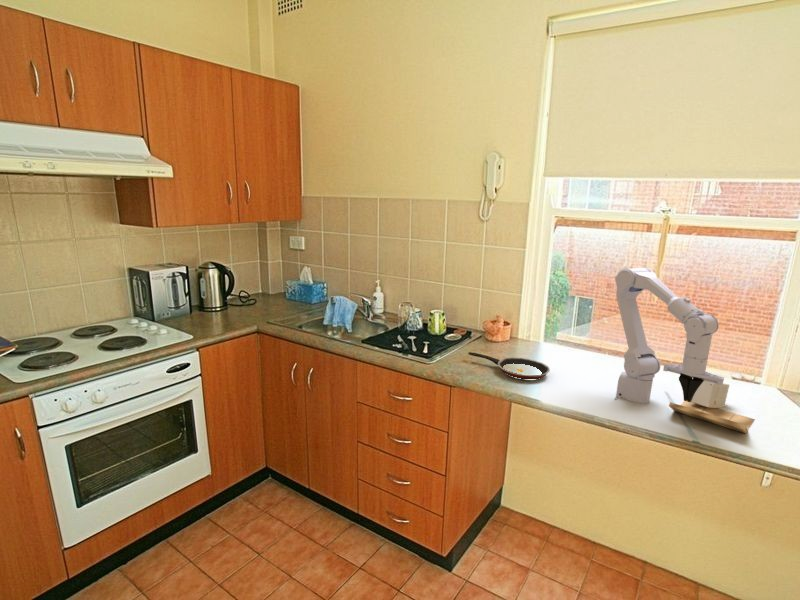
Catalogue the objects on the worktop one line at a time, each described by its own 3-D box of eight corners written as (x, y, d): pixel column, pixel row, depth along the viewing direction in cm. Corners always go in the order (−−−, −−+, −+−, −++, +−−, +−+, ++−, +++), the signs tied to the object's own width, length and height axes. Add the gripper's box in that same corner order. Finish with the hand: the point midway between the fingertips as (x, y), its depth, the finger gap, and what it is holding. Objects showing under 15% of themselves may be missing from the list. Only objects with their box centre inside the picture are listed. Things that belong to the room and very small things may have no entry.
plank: (668, 406, 132) (670, 402, 132) (675, 412, 139) (676, 408, 139) (743, 429, 119) (744, 424, 119) (746, 434, 126) (748, 430, 126)
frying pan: (540, 388, 154) (541, 378, 154) (457, 367, 172) (458, 358, 171) (555, 372, 170) (556, 363, 169) (477, 354, 187) (478, 346, 186)
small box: (710, 379, 146) (695, 377, 141) (730, 384, 142) (715, 382, 136) (705, 403, 147) (689, 401, 141) (724, 409, 142) (708, 407, 136)
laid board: (676, 411, 139) (677, 407, 139) (685, 402, 146) (686, 399, 146) (747, 434, 127) (748, 429, 126) (754, 423, 133) (755, 419, 133)
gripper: (729, 360, 124) (720, 405, 127) (671, 347, 134) (664, 389, 137) (723, 365, 119) (714, 412, 122) (664, 351, 130) (656, 395, 133)
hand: (687, 400), depth 129 cm, fingers closed
